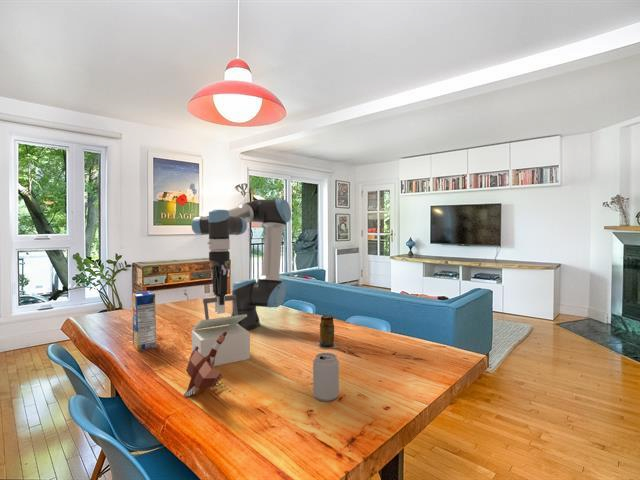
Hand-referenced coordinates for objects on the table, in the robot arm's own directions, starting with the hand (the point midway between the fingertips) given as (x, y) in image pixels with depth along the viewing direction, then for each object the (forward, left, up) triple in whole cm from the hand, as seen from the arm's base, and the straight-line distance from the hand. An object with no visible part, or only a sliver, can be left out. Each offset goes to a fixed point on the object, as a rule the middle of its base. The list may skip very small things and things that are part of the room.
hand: (219, 312), depth 133 cm
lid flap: (0, 0, -4) cm, 4 cm away
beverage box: (+23, -31, -17) cm, 42 cm away
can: (-17, +47, -17) cm, 53 cm away
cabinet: (0, 0, -17) cm, 17 cm away
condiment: (-42, +10, -17) cm, 47 cm away
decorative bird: (+12, +25, -17) cm, 33 cm away
